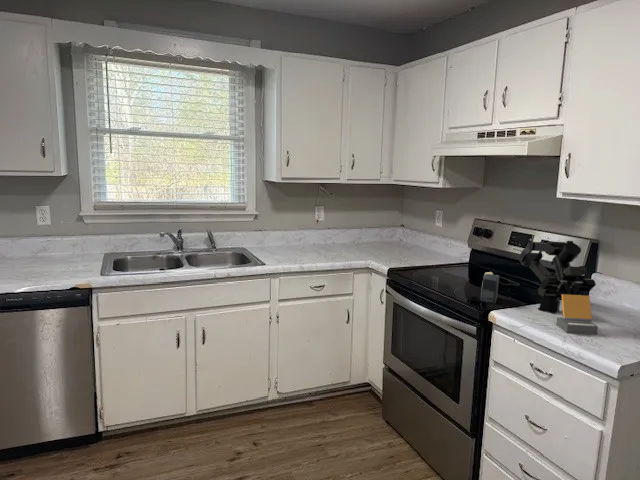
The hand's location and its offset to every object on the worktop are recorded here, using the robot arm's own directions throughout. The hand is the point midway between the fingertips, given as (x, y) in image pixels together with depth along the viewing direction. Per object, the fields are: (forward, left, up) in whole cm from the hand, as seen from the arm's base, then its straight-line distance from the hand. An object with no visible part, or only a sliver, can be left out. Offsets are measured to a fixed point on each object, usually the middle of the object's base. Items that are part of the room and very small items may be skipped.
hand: (573, 303), depth 174 cm
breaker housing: (+3, -3, -9) cm, 10 cm away
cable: (-48, +43, -9) cm, 65 cm away
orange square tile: (+3, -3, -5) cm, 6 cm away
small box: (-36, +6, -9) cm, 37 cm away
